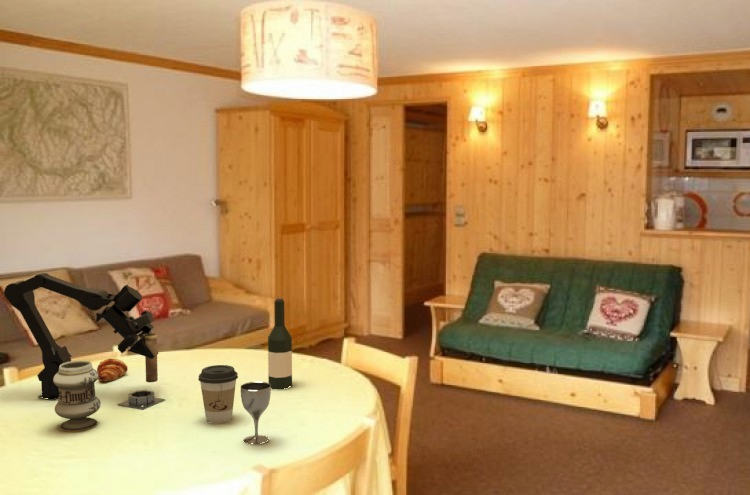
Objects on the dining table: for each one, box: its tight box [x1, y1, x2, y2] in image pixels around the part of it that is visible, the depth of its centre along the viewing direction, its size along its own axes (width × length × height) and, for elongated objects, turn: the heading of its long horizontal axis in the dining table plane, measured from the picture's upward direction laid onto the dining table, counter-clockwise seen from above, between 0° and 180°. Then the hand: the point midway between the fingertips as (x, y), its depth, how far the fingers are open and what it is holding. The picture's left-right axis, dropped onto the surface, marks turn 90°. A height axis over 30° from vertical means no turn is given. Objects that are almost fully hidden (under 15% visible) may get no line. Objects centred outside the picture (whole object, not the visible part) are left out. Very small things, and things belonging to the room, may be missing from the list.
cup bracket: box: [117, 389, 166, 411], centre depth 223 cm, size 10×10×3 cm
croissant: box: [96, 357, 128, 383], centre depth 253 cm, size 21×10×8 cm, turn 5°
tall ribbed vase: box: [144, 332, 159, 383], centre depth 228 cm, size 4×4×15 cm
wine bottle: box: [267, 297, 293, 390], centre depth 239 cm, size 8×8×30 cm
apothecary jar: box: [53, 360, 102, 433], centre depth 202 cm, size 12×12×18 cm
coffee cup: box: [198, 364, 239, 425], centre depth 208 cm, size 11×11×15 cm
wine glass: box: [240, 381, 272, 445], centre depth 192 cm, size 8×8×15 cm
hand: (155, 356), depth 228 cm, fingers closed on tall ribbed vase, 4 cm apart
